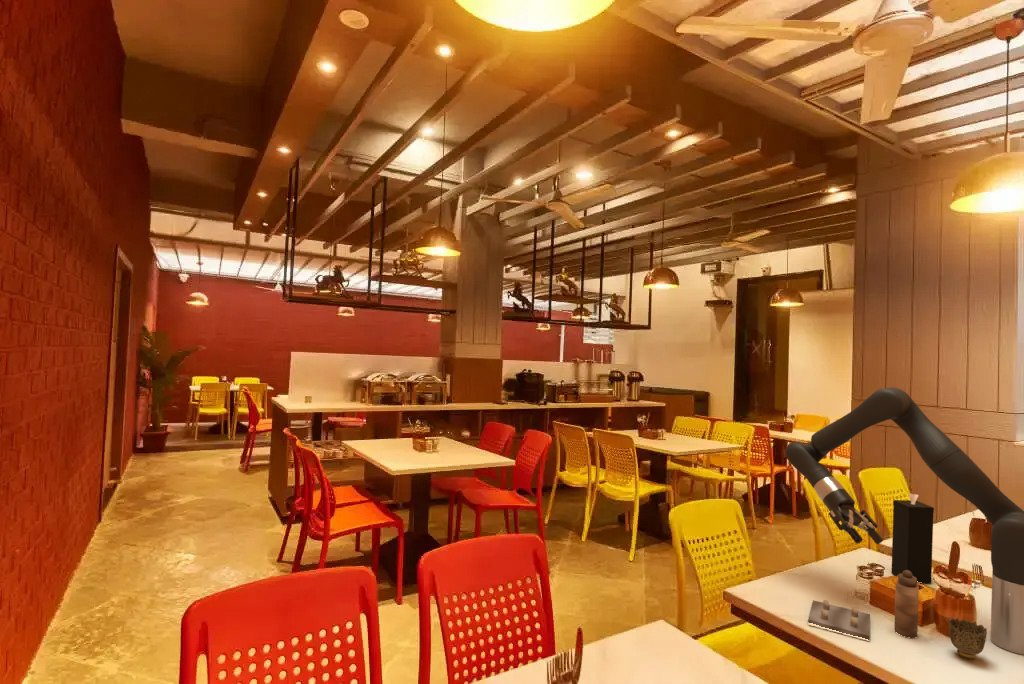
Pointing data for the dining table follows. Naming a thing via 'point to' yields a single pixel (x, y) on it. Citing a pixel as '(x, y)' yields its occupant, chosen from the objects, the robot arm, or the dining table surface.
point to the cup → (967, 637)
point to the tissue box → (912, 538)
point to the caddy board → (840, 619)
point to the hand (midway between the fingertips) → (870, 542)
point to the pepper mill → (906, 605)
